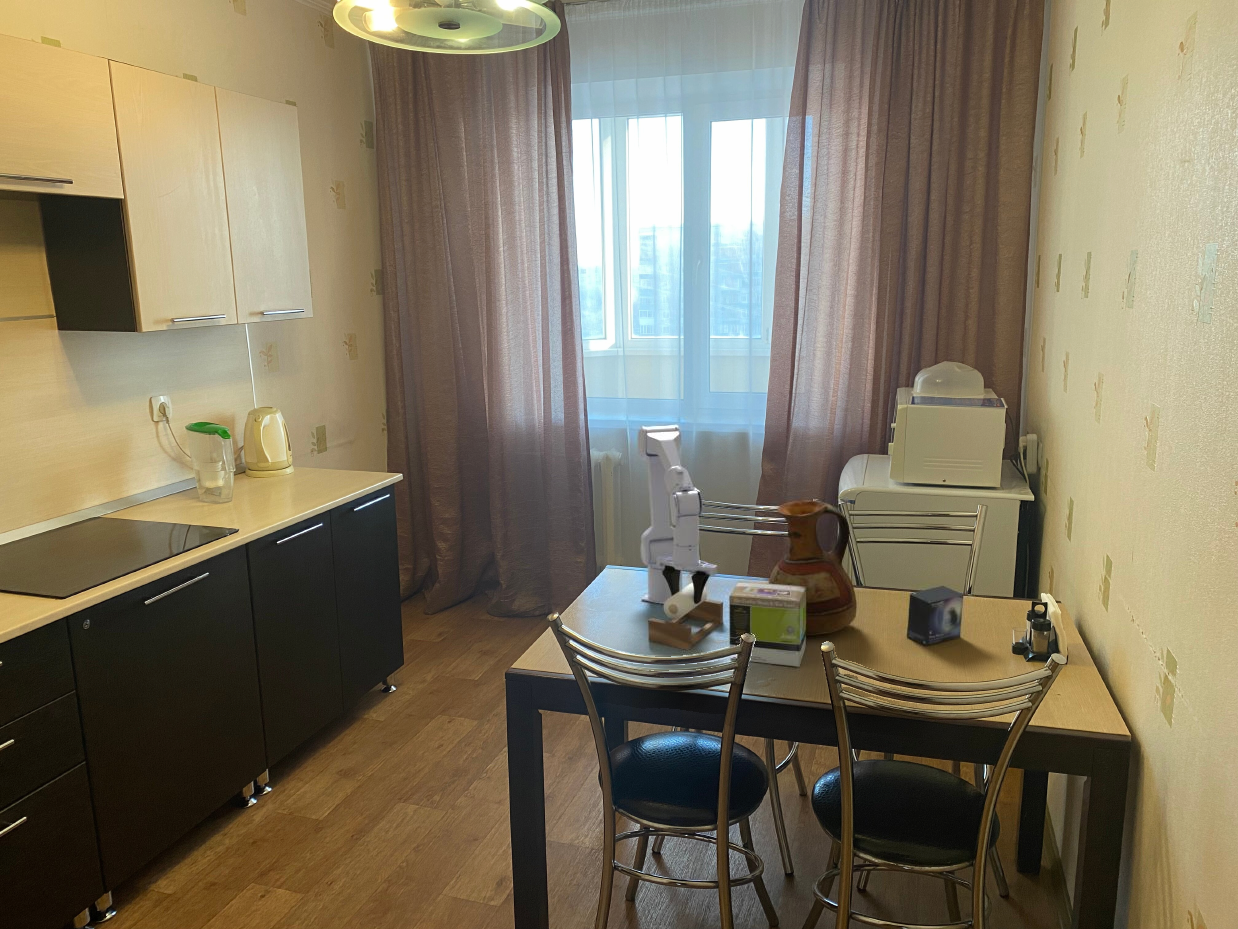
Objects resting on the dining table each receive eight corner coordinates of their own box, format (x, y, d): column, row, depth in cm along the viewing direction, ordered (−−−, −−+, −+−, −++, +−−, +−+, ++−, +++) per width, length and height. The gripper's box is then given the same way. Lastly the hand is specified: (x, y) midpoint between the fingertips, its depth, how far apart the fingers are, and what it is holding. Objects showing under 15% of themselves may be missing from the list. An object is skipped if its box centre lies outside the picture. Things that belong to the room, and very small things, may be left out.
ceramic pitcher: (754, 615, 216) (756, 494, 209) (832, 607, 220) (836, 488, 213) (786, 648, 197) (788, 516, 190) (871, 638, 201) (876, 509, 194)
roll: (693, 604, 212) (685, 584, 212) (710, 599, 209) (702, 579, 209) (668, 622, 201) (659, 601, 201) (686, 617, 198) (677, 596, 199)
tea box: (806, 649, 196) (807, 585, 193) (799, 669, 187) (801, 601, 184) (737, 641, 201) (738, 578, 198) (728, 660, 192) (728, 594, 189)
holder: (685, 614, 217) (684, 594, 216) (722, 622, 212) (723, 601, 211) (648, 641, 202) (648, 620, 201) (688, 650, 197) (688, 628, 196)
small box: (927, 647, 196) (930, 602, 193) (905, 637, 201) (907, 593, 199) (962, 638, 200) (965, 593, 198) (939, 628, 206) (942, 584, 204)
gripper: (649, 543, 203) (650, 600, 206) (707, 552, 195) (707, 611, 198) (664, 535, 209) (664, 590, 212) (721, 544, 201) (721, 601, 204)
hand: (686, 600), depth 205 cm, fingers closed on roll, 5 cm apart
